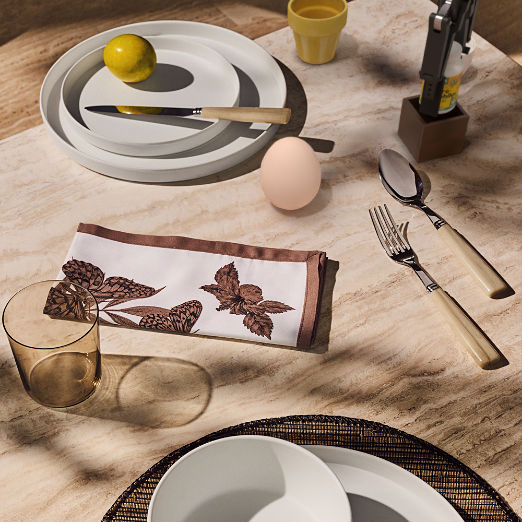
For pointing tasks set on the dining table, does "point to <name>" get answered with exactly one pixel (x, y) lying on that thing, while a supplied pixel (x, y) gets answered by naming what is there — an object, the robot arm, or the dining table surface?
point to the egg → (290, 173)
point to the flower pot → (317, 27)
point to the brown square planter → (431, 130)
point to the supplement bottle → (450, 79)
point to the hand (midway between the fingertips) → (436, 101)
